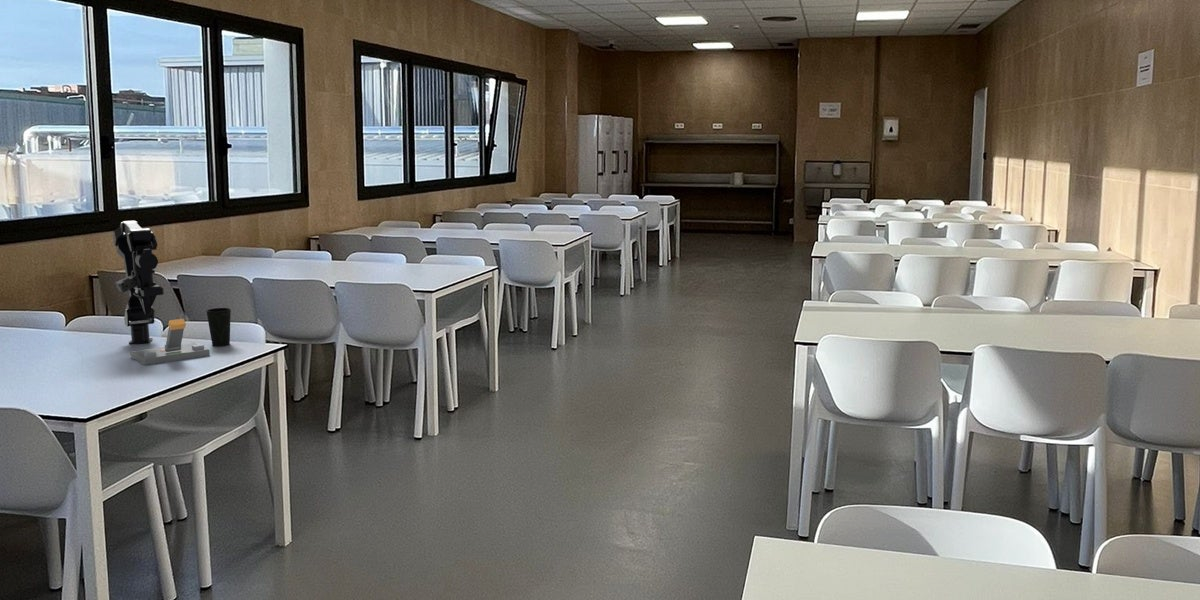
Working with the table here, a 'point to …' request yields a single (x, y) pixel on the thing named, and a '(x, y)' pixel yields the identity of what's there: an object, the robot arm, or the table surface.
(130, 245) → the robot arm
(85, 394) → the table surface
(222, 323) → the cup
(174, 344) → the handle
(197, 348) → the panel
